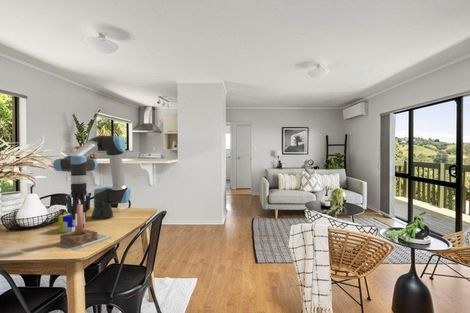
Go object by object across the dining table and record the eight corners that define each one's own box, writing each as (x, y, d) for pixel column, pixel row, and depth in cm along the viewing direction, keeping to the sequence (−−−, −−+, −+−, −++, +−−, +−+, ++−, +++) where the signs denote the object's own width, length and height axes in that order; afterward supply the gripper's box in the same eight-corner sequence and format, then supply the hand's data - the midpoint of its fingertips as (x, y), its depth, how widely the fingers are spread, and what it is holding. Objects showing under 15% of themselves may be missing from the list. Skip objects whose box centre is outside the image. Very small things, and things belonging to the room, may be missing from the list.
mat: (91, 233, 158) (91, 232, 158) (112, 238, 149) (112, 237, 149) (52, 244, 139) (52, 243, 139) (74, 251, 129) (74, 250, 129)
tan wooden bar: (80, 231, 145) (80, 203, 145) (84, 232, 143) (84, 204, 143) (73, 233, 141) (73, 205, 141) (77, 234, 140) (77, 205, 139)
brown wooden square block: (83, 236, 151) (83, 228, 151) (97, 239, 145) (97, 232, 145) (60, 243, 140) (60, 235, 140) (74, 247, 134) (74, 239, 134)
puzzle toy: (71, 232, 160) (71, 217, 160) (58, 231, 162) (58, 216, 162) (84, 228, 170) (84, 213, 170) (71, 227, 172) (71, 212, 172)
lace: (107, 237, 149) (107, 236, 149) (108, 237, 149) (108, 236, 149) (80, 246, 135) (80, 245, 135) (81, 246, 135) (81, 245, 135)
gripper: (89, 181, 151) (89, 219, 151) (58, 184, 136) (59, 227, 136) (97, 181, 148) (97, 221, 148) (67, 184, 133) (67, 229, 133)
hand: (79, 224), depth 142 cm, fingers closed on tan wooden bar, 4 cm apart
